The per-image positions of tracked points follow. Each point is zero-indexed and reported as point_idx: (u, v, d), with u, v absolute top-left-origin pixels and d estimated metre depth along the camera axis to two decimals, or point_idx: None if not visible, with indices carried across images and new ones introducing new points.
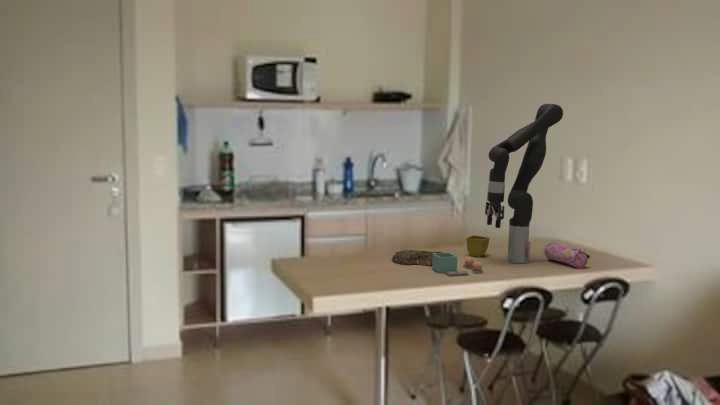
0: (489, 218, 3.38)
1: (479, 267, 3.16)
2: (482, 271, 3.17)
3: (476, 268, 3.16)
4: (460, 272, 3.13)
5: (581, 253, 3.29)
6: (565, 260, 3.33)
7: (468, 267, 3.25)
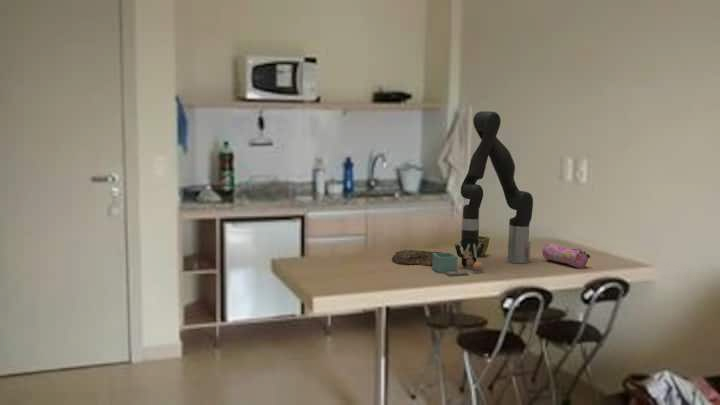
0: None
1: (479, 267, 3.16)
2: (482, 271, 3.17)
3: (476, 268, 3.16)
4: (460, 272, 3.13)
5: (582, 253, 3.29)
6: (565, 260, 3.32)
7: (468, 267, 3.25)
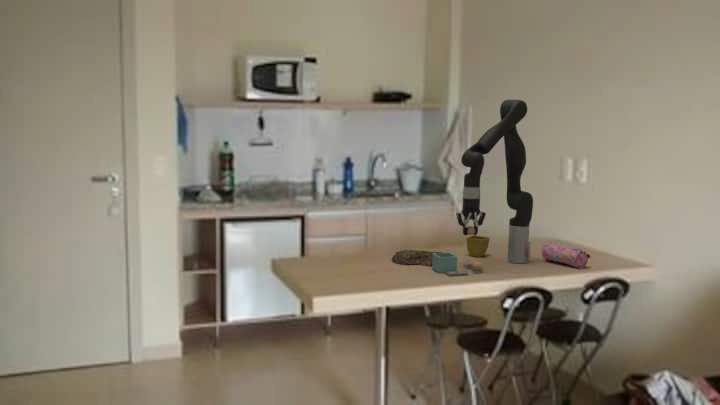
0: None
1: (479, 267, 3.16)
2: (482, 271, 3.17)
3: (476, 268, 3.16)
4: (460, 272, 3.13)
5: (582, 253, 3.29)
6: (566, 260, 3.32)
7: (468, 267, 3.25)
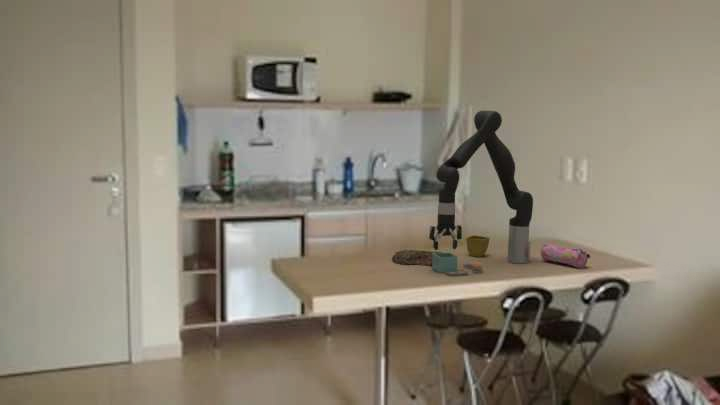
0: None
1: (479, 267, 3.16)
2: (482, 271, 3.17)
3: (476, 268, 3.16)
4: (460, 272, 3.13)
5: (583, 253, 3.29)
6: (566, 261, 3.32)
7: (468, 267, 3.25)
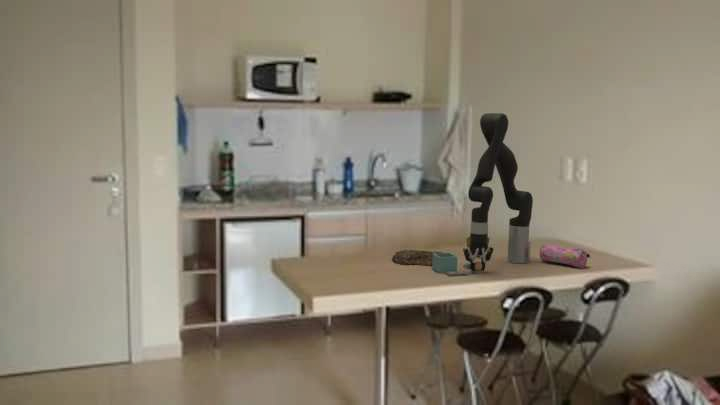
0: None
1: (479, 267, 3.16)
2: (482, 271, 3.17)
3: (476, 268, 3.16)
4: (460, 272, 3.13)
5: (583, 253, 3.29)
6: (567, 261, 3.31)
7: (468, 267, 3.25)
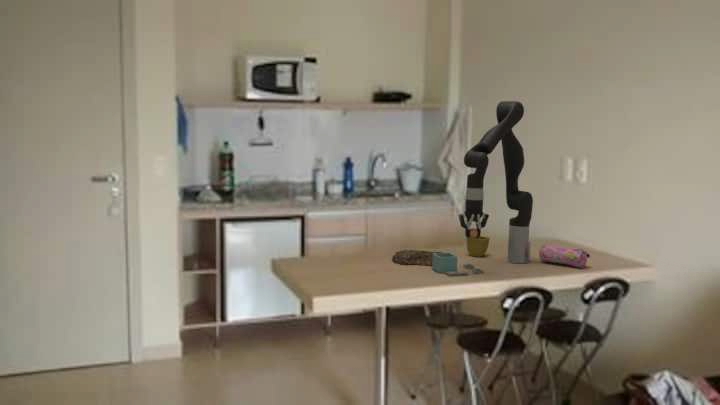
0: None
1: (474, 234, 3.14)
2: (482, 271, 3.17)
3: (471, 235, 3.14)
4: (460, 272, 3.13)
5: (584, 253, 3.29)
6: (567, 261, 3.31)
7: (468, 267, 3.25)
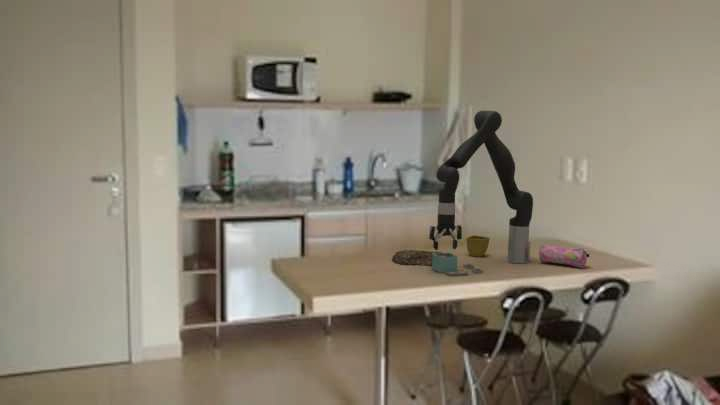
0: None
1: None
2: (482, 271, 3.17)
3: None
4: (460, 272, 3.13)
5: (584, 253, 3.30)
6: (568, 261, 3.30)
7: (468, 267, 3.25)
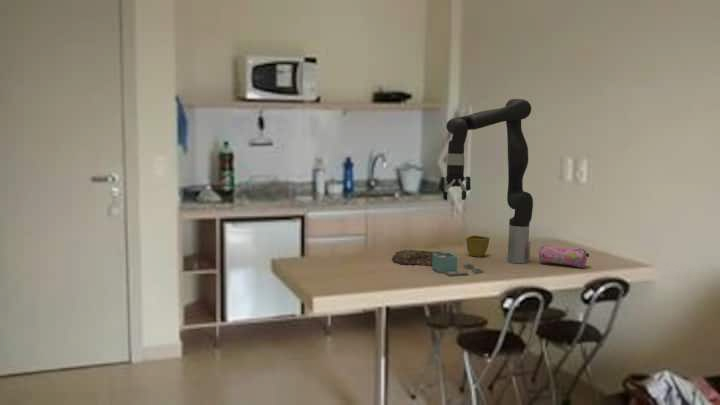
0: None
1: None
2: (482, 271, 3.17)
3: None
4: (460, 272, 3.13)
5: (585, 252, 3.30)
6: (569, 261, 3.30)
7: (468, 267, 3.25)
